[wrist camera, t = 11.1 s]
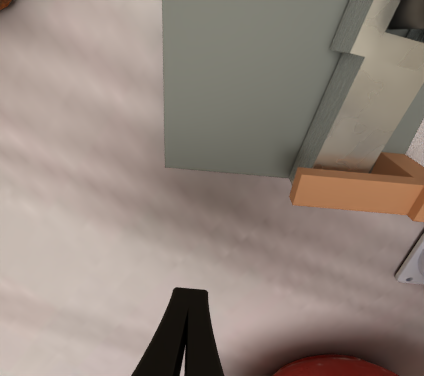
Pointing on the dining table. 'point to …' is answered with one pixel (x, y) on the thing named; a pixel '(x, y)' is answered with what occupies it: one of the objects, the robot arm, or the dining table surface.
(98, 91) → the dining table surface
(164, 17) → the base
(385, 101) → the latch
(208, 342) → the robot arm
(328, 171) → the bracket
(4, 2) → the sauce bottle
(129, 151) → the dining table surface
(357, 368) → the mixing bowl
